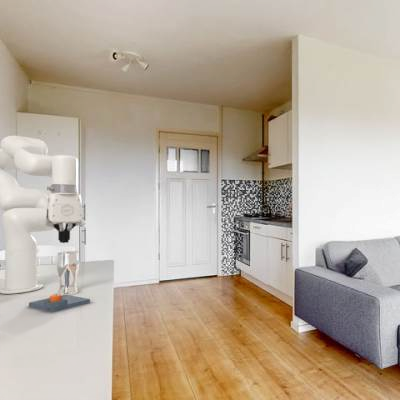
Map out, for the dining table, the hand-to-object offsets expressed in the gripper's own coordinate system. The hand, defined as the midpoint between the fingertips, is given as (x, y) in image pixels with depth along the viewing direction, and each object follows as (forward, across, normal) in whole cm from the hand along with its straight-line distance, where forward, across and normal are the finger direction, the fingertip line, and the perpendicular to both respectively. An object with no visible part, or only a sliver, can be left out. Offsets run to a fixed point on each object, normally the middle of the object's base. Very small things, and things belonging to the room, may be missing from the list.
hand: (64, 242), depth 120 cm
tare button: (+16, -8, -15) cm, 24 cm away
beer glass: (+20, +3, +5) cm, 20 cm away
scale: (+19, -5, -10) cm, 22 cm away
